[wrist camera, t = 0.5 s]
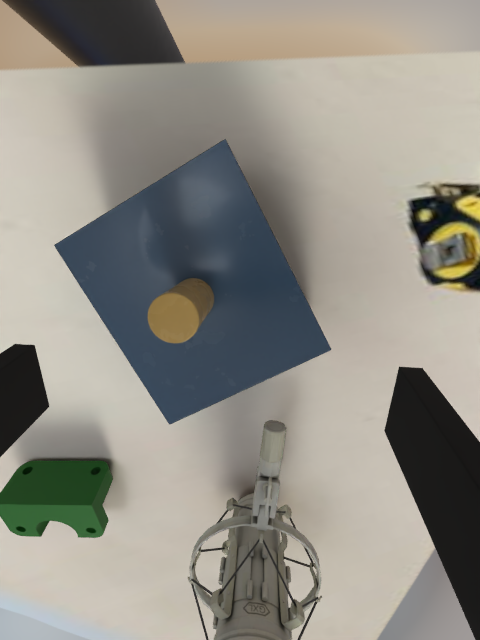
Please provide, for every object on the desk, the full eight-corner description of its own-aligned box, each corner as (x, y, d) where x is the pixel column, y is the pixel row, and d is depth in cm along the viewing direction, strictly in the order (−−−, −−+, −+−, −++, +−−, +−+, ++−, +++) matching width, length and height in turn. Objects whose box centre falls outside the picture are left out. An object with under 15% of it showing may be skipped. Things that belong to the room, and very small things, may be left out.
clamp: (68, 468, 48) (4, 529, 41) (53, 438, 45) (-18, 498, 38) (134, 502, 43) (74, 578, 36) (123, 470, 40) (55, 545, 33)
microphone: (330, 388, 37) (451, 682, 13) (301, 550, 43) (347, 960, 19) (216, 374, 38) (128, 632, 14) (202, 536, 43) (124, 917, 19)
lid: (59, 244, 26) (-10, 250, 19) (226, 141, 23) (211, 107, 17) (171, 419, 29) (144, 475, 22) (329, 346, 26) (350, 385, 20)
